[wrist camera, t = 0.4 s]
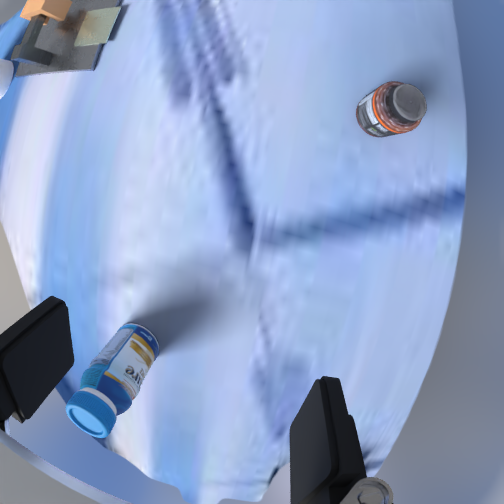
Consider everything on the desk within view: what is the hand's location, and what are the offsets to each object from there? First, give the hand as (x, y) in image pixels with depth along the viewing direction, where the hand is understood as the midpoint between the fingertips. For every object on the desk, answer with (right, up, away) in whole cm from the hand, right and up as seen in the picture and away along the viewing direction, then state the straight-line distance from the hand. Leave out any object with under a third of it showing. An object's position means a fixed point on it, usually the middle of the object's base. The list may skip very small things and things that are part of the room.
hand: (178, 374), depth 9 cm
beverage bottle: (-17, -11, +37) cm, 43 cm away
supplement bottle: (+19, +22, +24) cm, 38 cm away
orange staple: (-31, +45, +17) cm, 57 cm away
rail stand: (-29, +42, +21) cm, 55 cm away
